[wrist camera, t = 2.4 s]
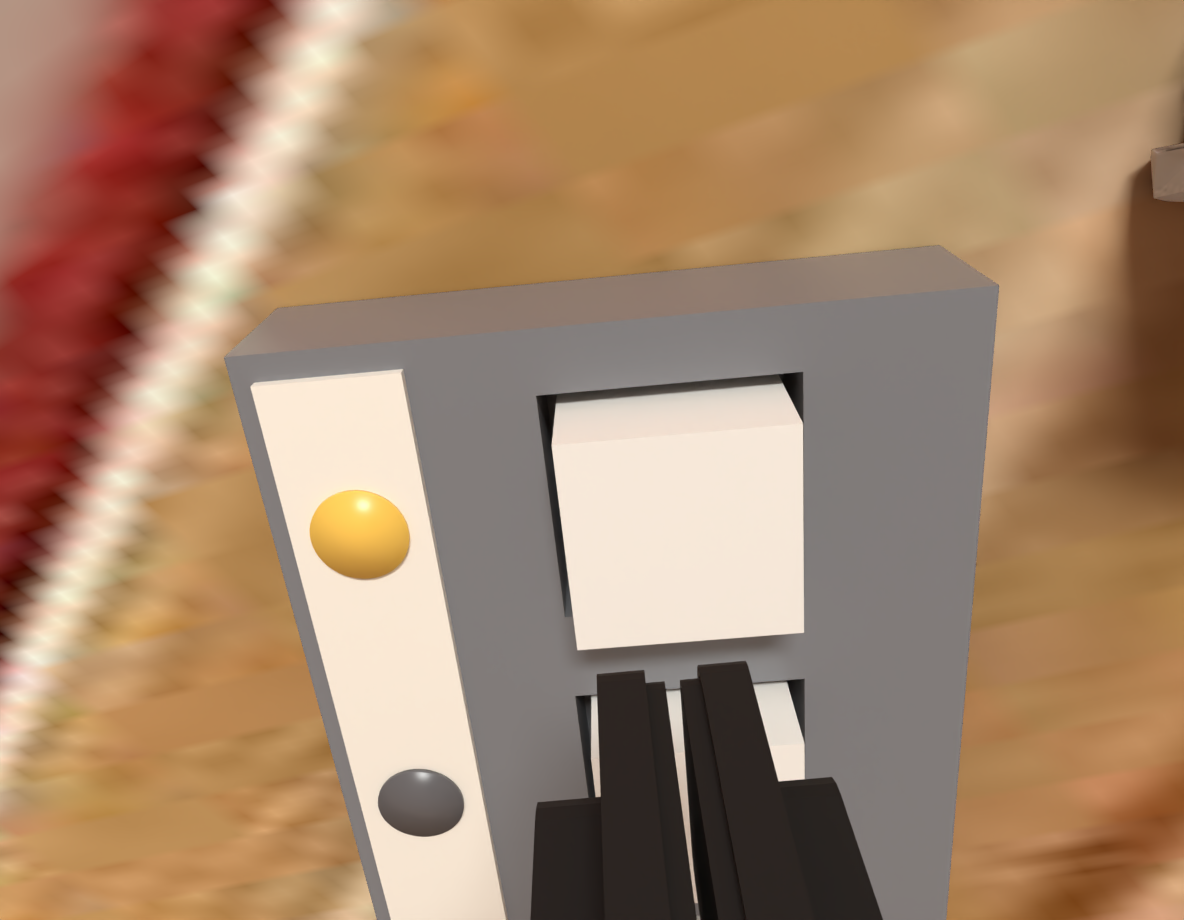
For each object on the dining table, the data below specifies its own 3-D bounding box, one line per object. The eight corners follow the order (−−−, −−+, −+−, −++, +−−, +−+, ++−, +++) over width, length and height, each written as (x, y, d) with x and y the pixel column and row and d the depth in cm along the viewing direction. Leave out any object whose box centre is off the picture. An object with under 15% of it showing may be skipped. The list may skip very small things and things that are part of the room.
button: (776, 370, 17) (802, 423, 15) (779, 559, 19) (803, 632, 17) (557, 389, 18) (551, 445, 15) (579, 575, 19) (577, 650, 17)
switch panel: (939, 245, 18) (1006, 290, 15) (899, 956, 27) (937, 1074, 24) (277, 308, 19) (217, 363, 16) (441, 985, 27) (422, 1104, 24)
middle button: (780, 661, 20) (804, 743, 18) (783, 804, 22) (805, 896, 20) (591, 675, 20) (590, 758, 18) (608, 816, 22) (609, 908, 20)
